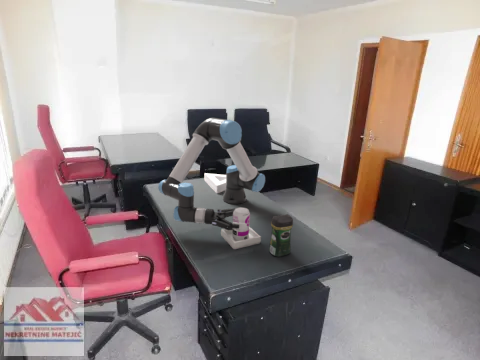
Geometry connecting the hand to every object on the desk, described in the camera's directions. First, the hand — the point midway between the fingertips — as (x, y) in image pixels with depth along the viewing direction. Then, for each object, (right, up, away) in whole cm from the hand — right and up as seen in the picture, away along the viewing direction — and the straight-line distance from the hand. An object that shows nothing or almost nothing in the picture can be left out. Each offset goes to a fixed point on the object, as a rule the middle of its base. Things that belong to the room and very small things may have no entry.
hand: (248, 220), depth 150 cm
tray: (-4, -10, +4) cm, 11 cm away
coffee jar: (+14, -14, -6) cm, 21 cm away
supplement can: (-4, -9, +3) cm, 11 cm away
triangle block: (-18, +13, +75) cm, 78 cm away
